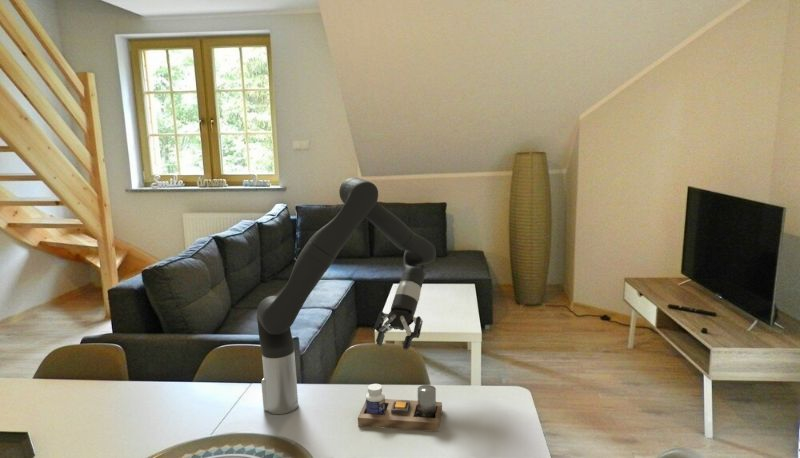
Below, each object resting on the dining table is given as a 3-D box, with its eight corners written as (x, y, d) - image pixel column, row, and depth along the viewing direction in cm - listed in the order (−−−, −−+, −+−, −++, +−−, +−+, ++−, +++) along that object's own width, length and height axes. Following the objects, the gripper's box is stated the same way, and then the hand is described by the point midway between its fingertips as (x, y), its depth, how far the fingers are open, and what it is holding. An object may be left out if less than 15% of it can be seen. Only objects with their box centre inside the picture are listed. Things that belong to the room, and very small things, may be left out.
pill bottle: (382, 421, 149) (381, 392, 147) (364, 420, 150) (363, 390, 148) (386, 411, 154) (386, 383, 152) (369, 410, 155) (368, 382, 153)
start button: (394, 410, 149) (394, 406, 148) (396, 405, 151) (396, 401, 151) (404, 411, 148) (404, 407, 148) (406, 406, 151) (406, 402, 151)
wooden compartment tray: (358, 426, 147) (357, 413, 146) (367, 405, 158) (366, 394, 157) (438, 431, 143) (437, 418, 142) (442, 410, 154) (441, 398, 153)
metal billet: (420, 425, 146) (420, 394, 145) (415, 416, 151) (415, 386, 149) (438, 422, 147) (438, 391, 146) (432, 413, 152) (432, 383, 151)
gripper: (381, 290, 167) (365, 338, 159) (424, 295, 161) (409, 345, 153) (390, 301, 173) (374, 348, 165) (431, 306, 167) (417, 355, 159)
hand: (391, 347), depth 159 cm, fingers open, 8 cm apart
